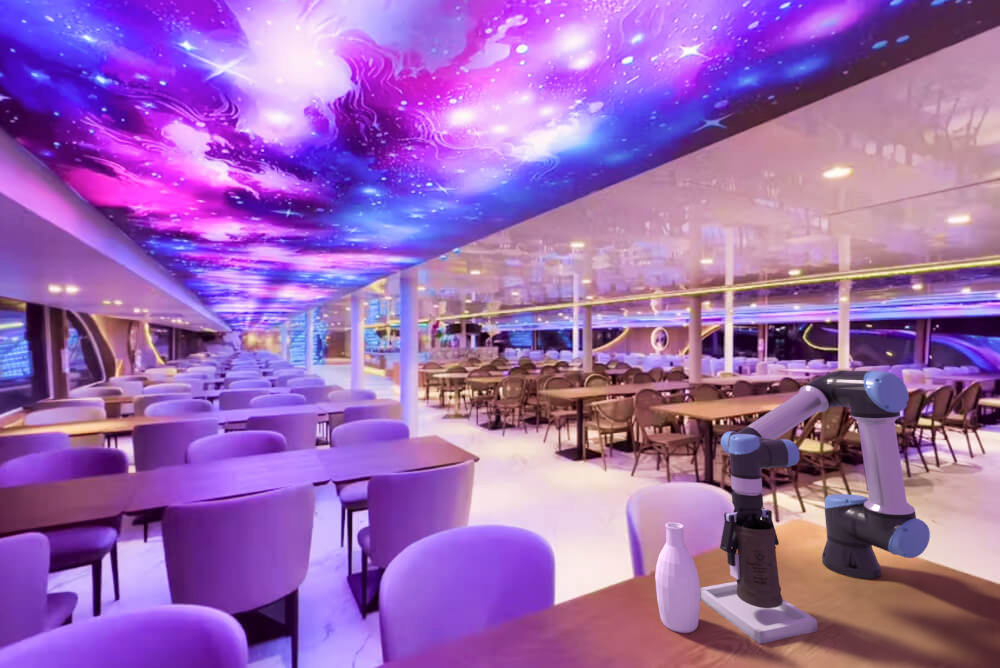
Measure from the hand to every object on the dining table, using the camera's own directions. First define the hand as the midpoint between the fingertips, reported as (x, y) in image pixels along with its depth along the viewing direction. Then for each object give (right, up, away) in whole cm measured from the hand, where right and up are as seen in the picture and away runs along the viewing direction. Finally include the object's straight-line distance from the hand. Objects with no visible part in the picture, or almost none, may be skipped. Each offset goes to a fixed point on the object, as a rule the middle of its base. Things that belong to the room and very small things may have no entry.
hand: (751, 574), depth 122 cm
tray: (0, -10, -1) cm, 10 cm away
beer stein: (+1, -5, 0) cm, 5 cm away
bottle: (-21, -11, -4) cm, 24 cm away
